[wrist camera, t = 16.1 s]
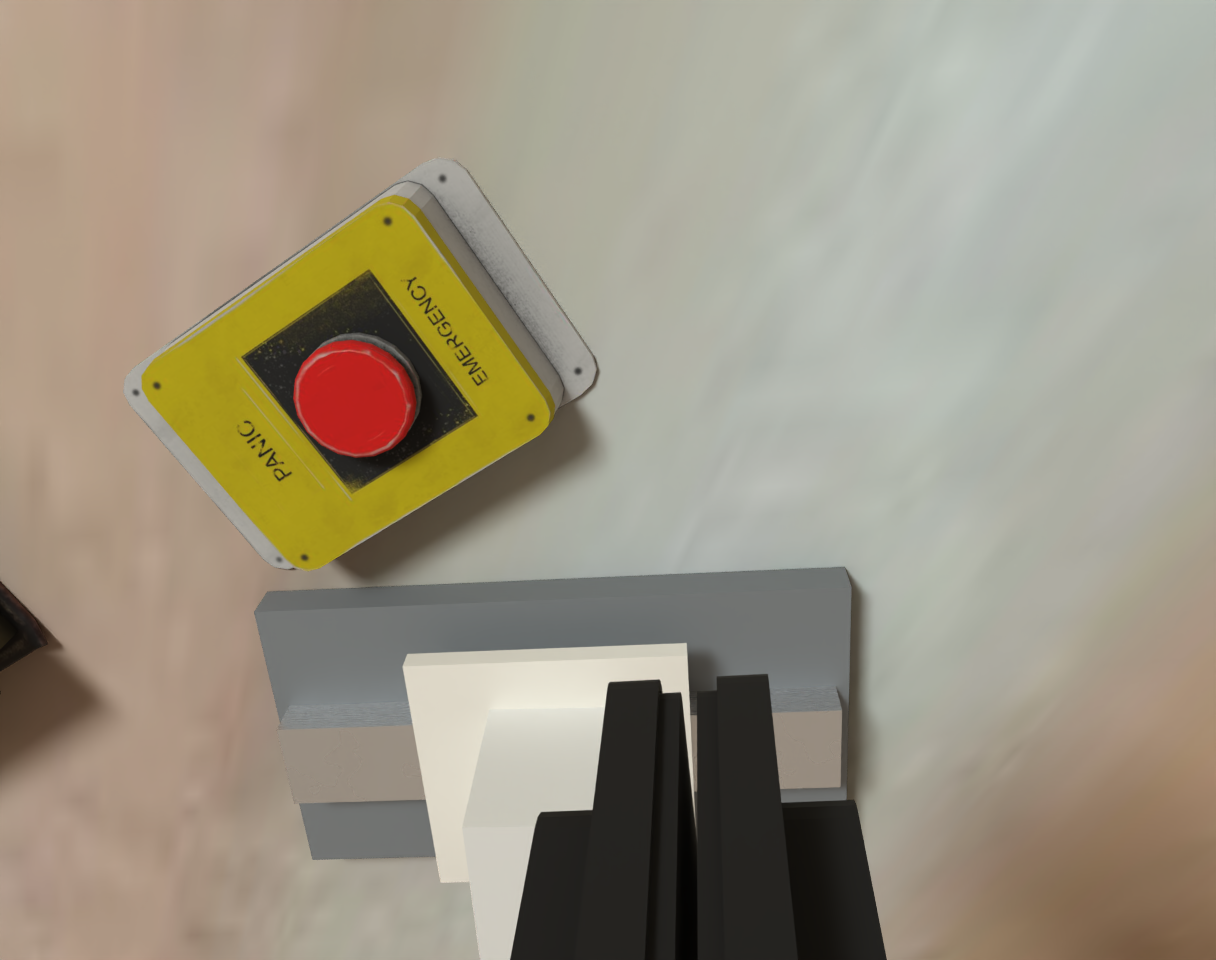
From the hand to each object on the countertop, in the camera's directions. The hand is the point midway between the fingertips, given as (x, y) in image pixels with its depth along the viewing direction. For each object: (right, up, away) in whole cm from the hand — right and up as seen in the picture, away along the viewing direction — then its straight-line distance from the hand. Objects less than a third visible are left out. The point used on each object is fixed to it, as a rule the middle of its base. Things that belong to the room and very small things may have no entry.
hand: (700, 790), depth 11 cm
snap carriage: (-3, -7, +31) cm, 32 cm away
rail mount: (-3, -6, +32) cm, 33 cm away
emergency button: (-10, +7, +27) cm, 30 cm away
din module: (-3, -8, +28) cm, 29 cm away
